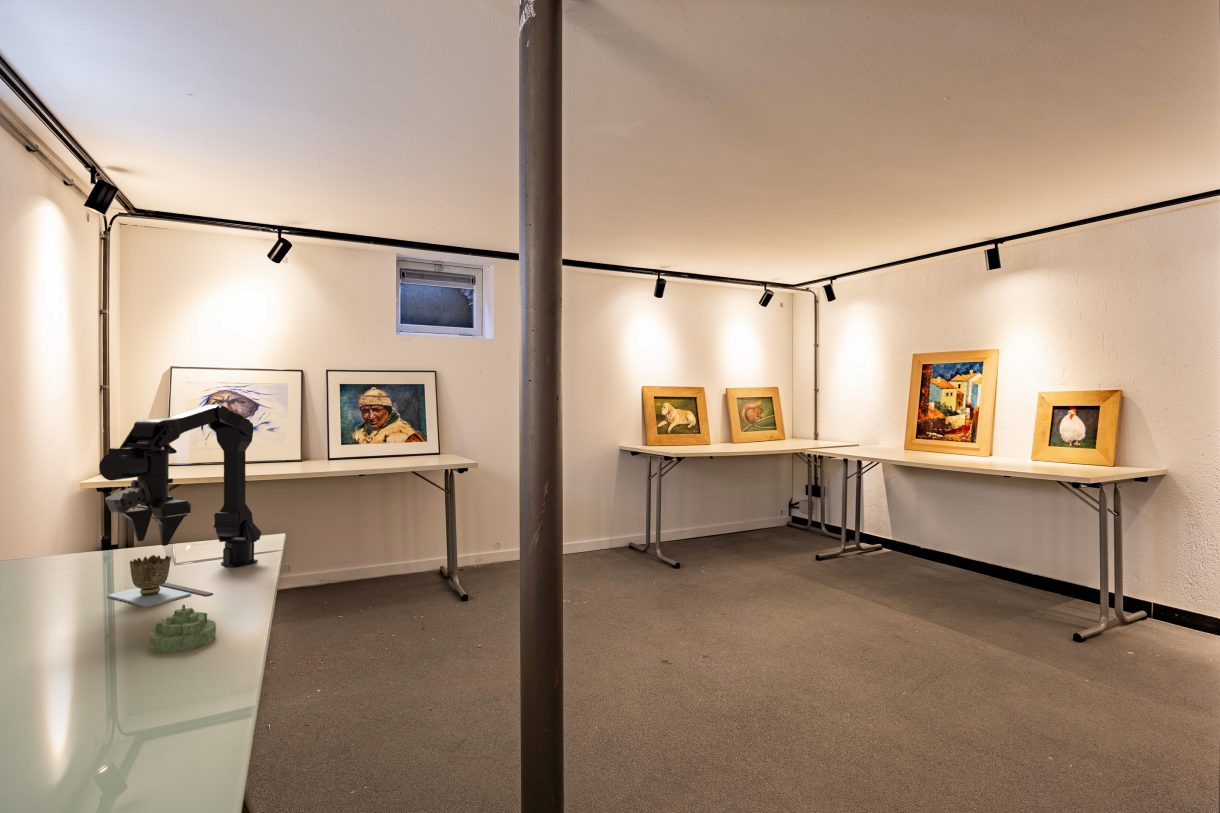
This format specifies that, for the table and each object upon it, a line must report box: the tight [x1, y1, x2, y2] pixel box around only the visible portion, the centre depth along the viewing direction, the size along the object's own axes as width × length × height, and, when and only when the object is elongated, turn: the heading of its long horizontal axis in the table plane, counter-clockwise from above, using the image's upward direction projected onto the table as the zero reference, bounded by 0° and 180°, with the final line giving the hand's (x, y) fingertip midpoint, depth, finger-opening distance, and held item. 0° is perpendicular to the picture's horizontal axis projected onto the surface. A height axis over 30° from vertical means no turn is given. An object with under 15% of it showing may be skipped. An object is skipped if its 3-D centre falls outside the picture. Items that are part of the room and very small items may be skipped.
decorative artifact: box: [148, 604, 217, 654], centre depth 111 cm, size 10×7×10 cm
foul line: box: [161, 581, 214, 597], centre depth 142 cm, size 2×22×1 cm, turn 66°
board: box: [106, 586, 192, 608], centre depth 136 cm, size 9×15×1 cm, turn 66°
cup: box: [129, 554, 172, 596], centre depth 136 cm, size 8×7×8 cm
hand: (152, 543), depth 137 cm, fingers open, 9 cm apart
